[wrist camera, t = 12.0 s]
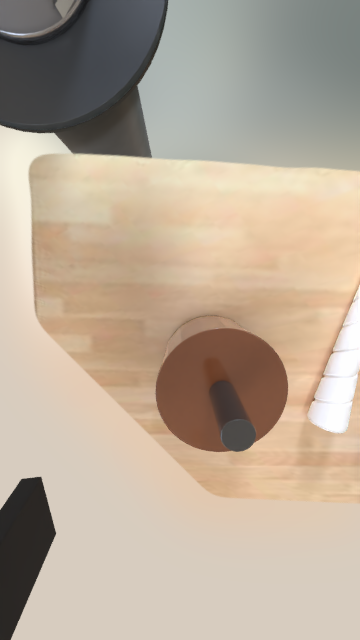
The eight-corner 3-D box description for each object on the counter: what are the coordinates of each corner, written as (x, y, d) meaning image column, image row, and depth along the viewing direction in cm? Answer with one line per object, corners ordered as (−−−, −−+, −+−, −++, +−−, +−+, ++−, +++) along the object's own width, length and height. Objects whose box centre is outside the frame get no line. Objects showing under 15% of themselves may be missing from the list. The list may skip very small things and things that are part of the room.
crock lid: (148, 333, 29) (138, 361, 20) (281, 318, 29) (326, 340, 20) (164, 451, 31) (160, 520, 23) (285, 438, 31) (327, 502, 23)
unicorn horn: (398, 263, 37) (431, 263, 32) (330, 421, 41) (350, 441, 36) (366, 252, 36) (394, 250, 32) (300, 413, 41) (317, 432, 36)
